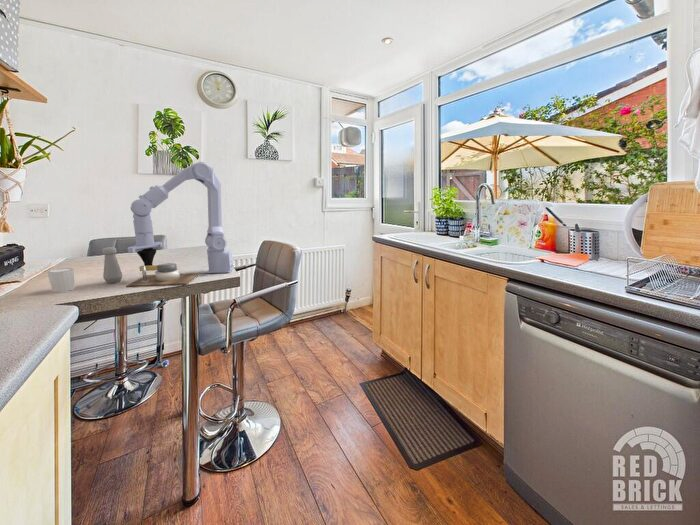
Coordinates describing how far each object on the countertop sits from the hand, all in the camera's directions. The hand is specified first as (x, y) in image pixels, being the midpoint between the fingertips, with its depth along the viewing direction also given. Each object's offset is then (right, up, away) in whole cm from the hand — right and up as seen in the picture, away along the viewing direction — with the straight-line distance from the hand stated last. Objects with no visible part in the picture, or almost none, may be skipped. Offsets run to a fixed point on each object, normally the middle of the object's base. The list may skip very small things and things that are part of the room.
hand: (148, 268), depth 126 cm
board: (+6, -4, 0) cm, 7 cm away
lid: (+4, -1, -1) cm, 4 cm away
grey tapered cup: (-21, -7, -12) cm, 26 cm away
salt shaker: (-12, -5, -2) cm, 13 cm away
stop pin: (+1, -5, -4) cm, 7 cm away
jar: (+7, -4, +1) cm, 8 cm away
